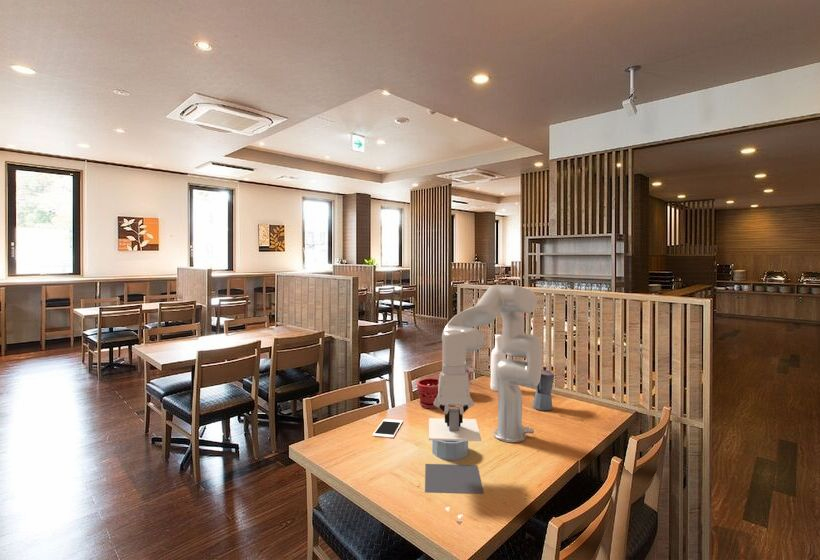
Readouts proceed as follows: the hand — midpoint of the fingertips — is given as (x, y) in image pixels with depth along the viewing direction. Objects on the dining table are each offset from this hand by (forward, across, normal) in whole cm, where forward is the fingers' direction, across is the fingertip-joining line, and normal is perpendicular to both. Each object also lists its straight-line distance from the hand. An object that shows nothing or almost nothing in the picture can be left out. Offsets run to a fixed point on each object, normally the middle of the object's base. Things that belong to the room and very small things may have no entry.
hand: (453, 424), depth 140 cm
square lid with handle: (+2, 0, 0) cm, 2 cm away
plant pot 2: (+20, -7, -88) cm, 90 cm away
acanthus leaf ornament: (+20, -1, +18) cm, 27 cm away
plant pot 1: (+20, +7, -70) cm, 73 cm away
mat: (+19, 0, 0) cm, 19 cm away
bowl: (+19, 0, -19) cm, 27 cm away
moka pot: (+20, -47, -69) cm, 85 cm away
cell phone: (+20, +25, -41) cm, 52 cm away
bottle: (+20, -30, -98) cm, 104 cm away
